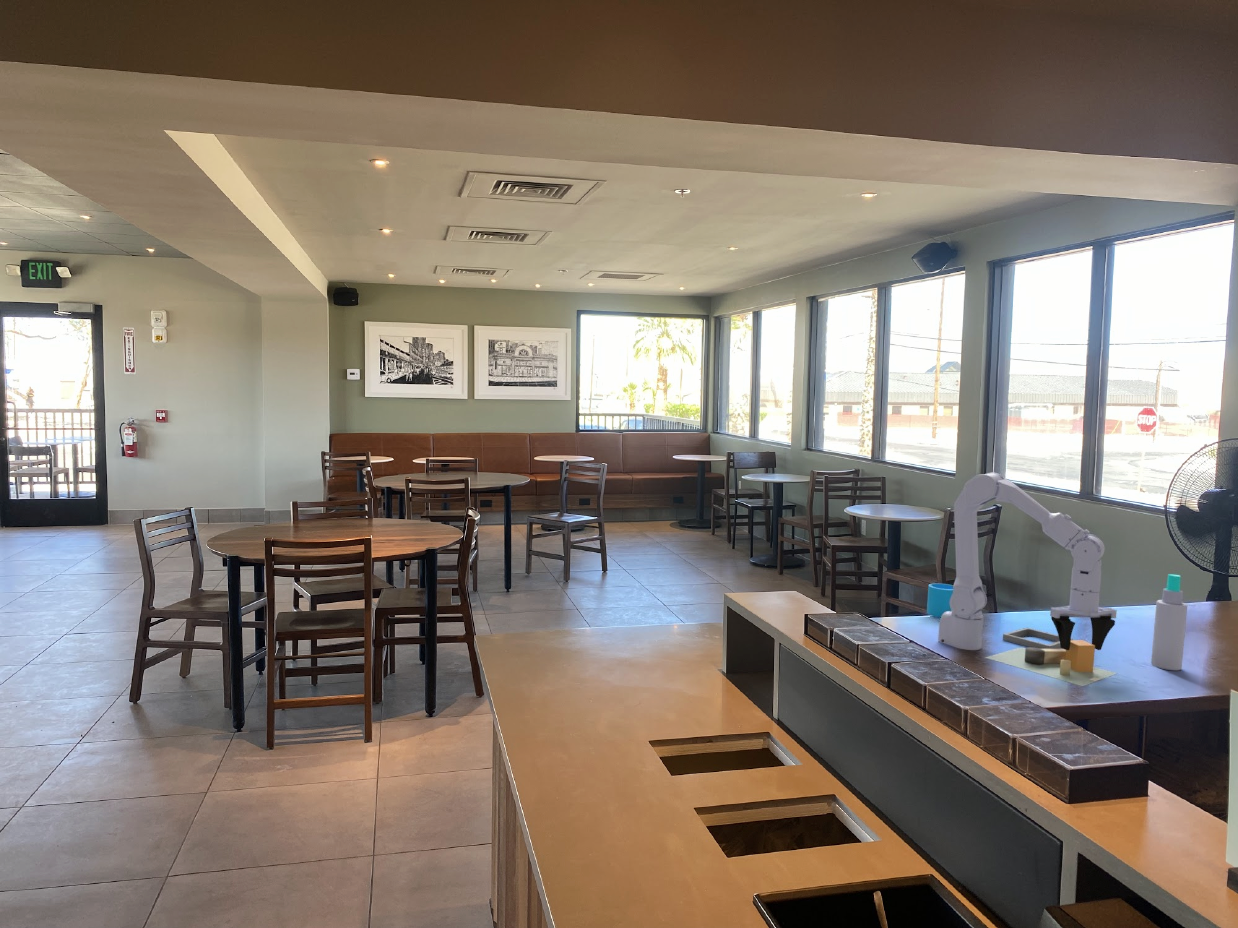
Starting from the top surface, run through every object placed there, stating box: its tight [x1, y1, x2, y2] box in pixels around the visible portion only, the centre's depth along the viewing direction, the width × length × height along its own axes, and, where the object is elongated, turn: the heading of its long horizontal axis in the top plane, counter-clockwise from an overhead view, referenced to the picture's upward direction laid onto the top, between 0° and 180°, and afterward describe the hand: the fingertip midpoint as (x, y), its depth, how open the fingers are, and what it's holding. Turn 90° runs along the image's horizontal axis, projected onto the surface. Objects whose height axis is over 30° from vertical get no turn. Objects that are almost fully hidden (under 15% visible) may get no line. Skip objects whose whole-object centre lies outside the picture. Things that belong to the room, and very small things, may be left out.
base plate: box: [984, 646, 1118, 687], centre depth 187 cm, size 22×16×4 cm
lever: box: [1025, 647, 1066, 665], centre depth 190 cm, size 14×5×3 cm, turn 96°
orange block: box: [1065, 639, 1096, 672], centre depth 185 cm, size 4×4×6 cm
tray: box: [1002, 627, 1074, 649], centre depth 206 cm, size 12×12×3 cm
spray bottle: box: [1150, 573, 1188, 672], centre depth 193 cm, size 6×6×22 cm
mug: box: [926, 582, 954, 618], centre depth 235 cm, size 12×8×8 cm
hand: (1080, 648), depth 185 cm, fingers open, 7 cm apart
